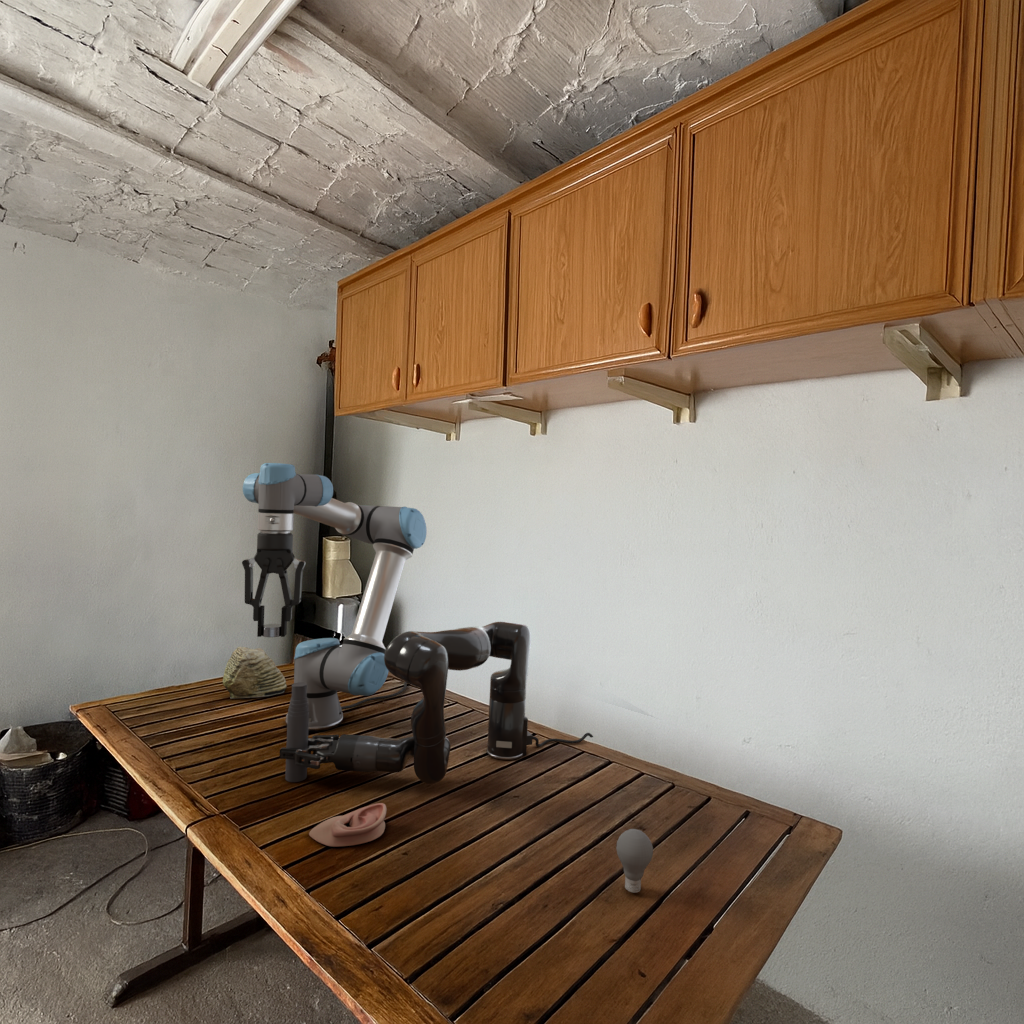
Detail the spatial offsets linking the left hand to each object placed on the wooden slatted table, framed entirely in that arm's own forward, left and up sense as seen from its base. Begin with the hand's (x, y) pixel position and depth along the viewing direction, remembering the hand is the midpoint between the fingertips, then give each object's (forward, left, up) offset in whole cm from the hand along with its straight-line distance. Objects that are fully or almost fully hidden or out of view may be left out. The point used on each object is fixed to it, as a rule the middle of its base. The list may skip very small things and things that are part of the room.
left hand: (272, 635), depth 143 cm
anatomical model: (+3, +34, -32) cm, 46 cm away
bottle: (-3, +6, -32) cm, 32 cm away
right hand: (-2, +4, -25) cm, 26 cm away
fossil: (-27, -54, -32) cm, 68 cm away
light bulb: (-18, +83, -32) cm, 90 cm away
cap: (0, 0, +2) cm, 2 cm away
